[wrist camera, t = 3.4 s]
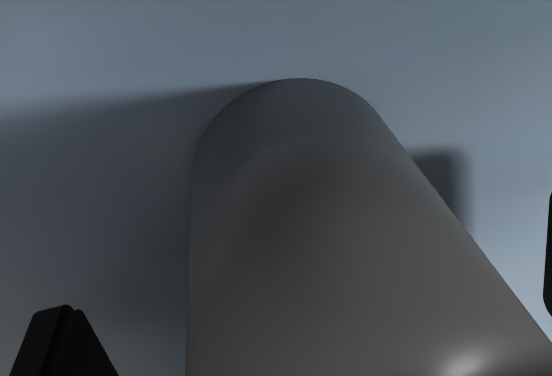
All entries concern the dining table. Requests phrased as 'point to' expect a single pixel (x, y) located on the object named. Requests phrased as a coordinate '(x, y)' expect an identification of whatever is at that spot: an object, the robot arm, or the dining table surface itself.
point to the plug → (337, 252)
